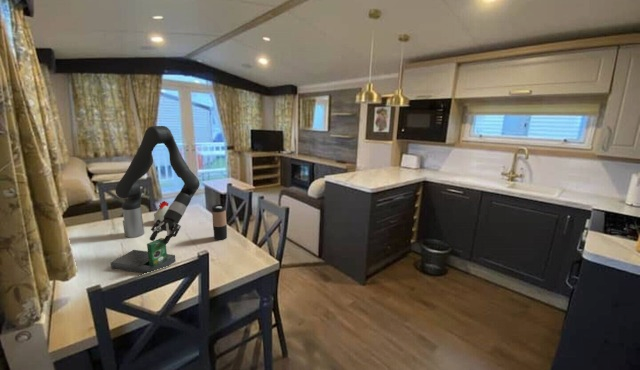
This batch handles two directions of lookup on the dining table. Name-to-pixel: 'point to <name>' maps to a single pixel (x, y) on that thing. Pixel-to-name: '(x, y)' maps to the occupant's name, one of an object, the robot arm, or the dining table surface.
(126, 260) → the dark grey flat slab
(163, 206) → the kitchen timer
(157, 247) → the coffee box
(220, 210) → the travel mug
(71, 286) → the dining table surface
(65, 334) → the dining table surface
